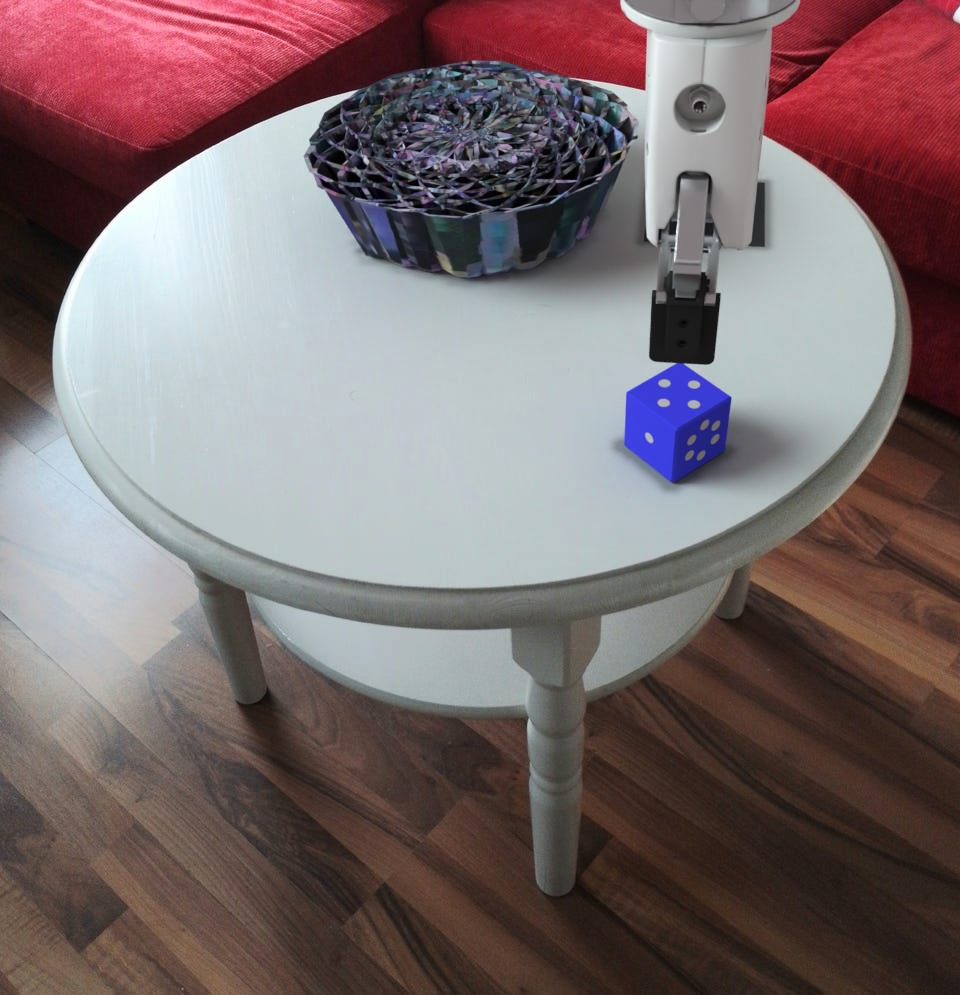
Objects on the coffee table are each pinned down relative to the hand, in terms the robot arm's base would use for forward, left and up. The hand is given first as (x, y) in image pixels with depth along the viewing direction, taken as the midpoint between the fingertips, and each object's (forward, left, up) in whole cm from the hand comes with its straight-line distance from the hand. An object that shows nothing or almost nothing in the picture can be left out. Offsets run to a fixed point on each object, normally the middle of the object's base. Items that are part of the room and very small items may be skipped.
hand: (686, 301), depth 58 cm
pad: (-1, -37, -18) cm, 42 cm away
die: (0, -7, -18) cm, 20 cm away
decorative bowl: (+19, -35, -18) cm, 44 cm away
